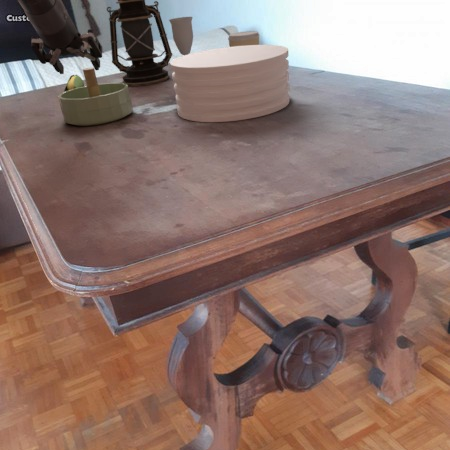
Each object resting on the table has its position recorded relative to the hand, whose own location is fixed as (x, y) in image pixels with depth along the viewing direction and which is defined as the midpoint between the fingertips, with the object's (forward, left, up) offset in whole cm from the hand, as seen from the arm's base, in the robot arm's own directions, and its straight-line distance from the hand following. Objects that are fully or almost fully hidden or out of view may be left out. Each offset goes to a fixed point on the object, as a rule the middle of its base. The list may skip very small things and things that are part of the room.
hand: (79, 68), depth 112 cm
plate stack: (+35, -3, -13) cm, 38 cm away
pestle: (+1, +5, -12) cm, 13 cm away
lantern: (+14, +49, -13) cm, 52 cm away
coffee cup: (+45, +31, -13) cm, 56 cm away
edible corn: (-9, +43, -13) cm, 45 cm away
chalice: (+27, +29, -13) cm, 41 cm away
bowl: (+1, +6, -13) cm, 14 cm away
